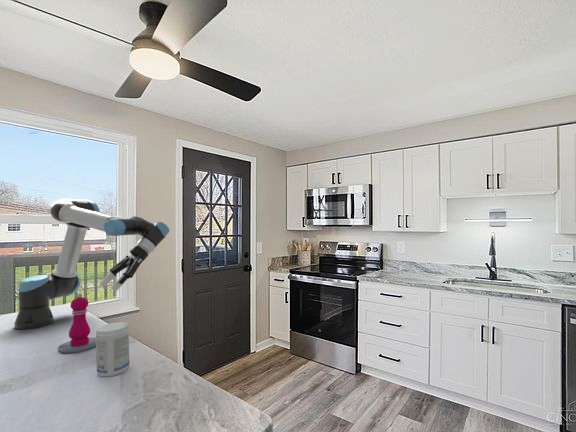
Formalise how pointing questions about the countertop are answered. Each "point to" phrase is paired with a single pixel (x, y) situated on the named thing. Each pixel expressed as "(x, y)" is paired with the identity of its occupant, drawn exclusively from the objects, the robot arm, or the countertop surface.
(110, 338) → the supplement tub
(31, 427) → the countertop surface
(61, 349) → the saucer
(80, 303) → the pepper mill
